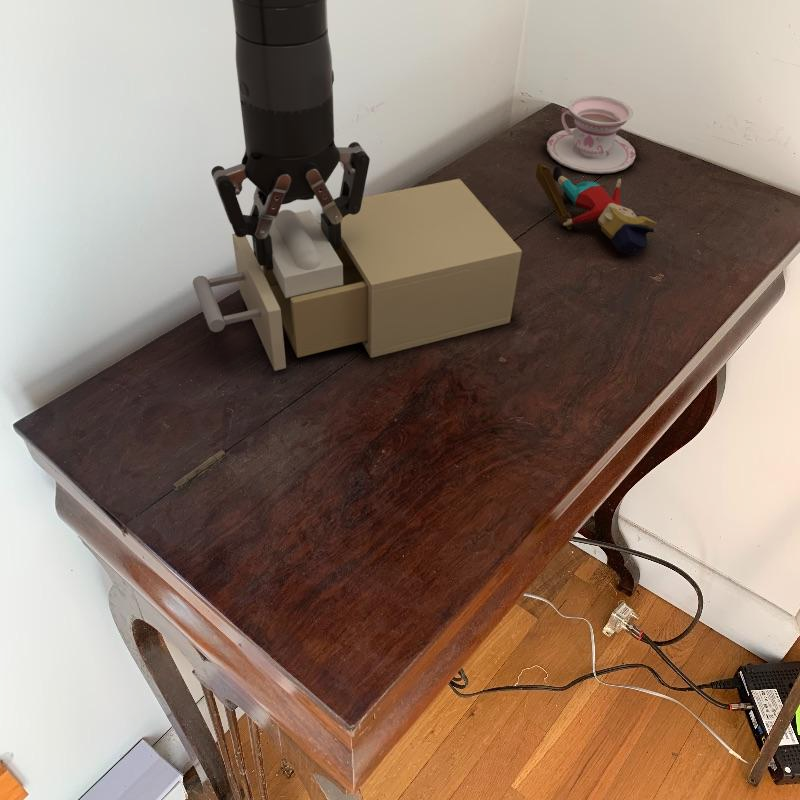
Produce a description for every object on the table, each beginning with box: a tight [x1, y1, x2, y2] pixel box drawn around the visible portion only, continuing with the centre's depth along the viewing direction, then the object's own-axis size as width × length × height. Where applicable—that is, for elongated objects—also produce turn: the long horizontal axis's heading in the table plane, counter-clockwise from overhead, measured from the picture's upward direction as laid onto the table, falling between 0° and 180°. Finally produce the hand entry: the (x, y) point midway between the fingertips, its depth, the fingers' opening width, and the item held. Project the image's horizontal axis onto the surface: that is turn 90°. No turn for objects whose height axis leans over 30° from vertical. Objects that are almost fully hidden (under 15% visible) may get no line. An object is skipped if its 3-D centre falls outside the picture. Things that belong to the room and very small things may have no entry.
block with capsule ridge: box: [269, 209, 343, 298], centre depth 76 cm, size 10×6×4 cm, turn 22°
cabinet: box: [321, 178, 523, 359], centre depth 83 cm, size 16×14×9 cm
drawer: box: [192, 221, 369, 372], centre depth 79 cm, size 20×13×7 cm, turn 112°
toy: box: [535, 161, 658, 255], centre depth 94 cm, size 9×6×15 cm
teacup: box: [546, 95, 637, 175], centre depth 107 cm, size 12×12×6 cm
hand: (298, 257), depth 77 cm, fingers closed on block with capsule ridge, 5 cm apart
